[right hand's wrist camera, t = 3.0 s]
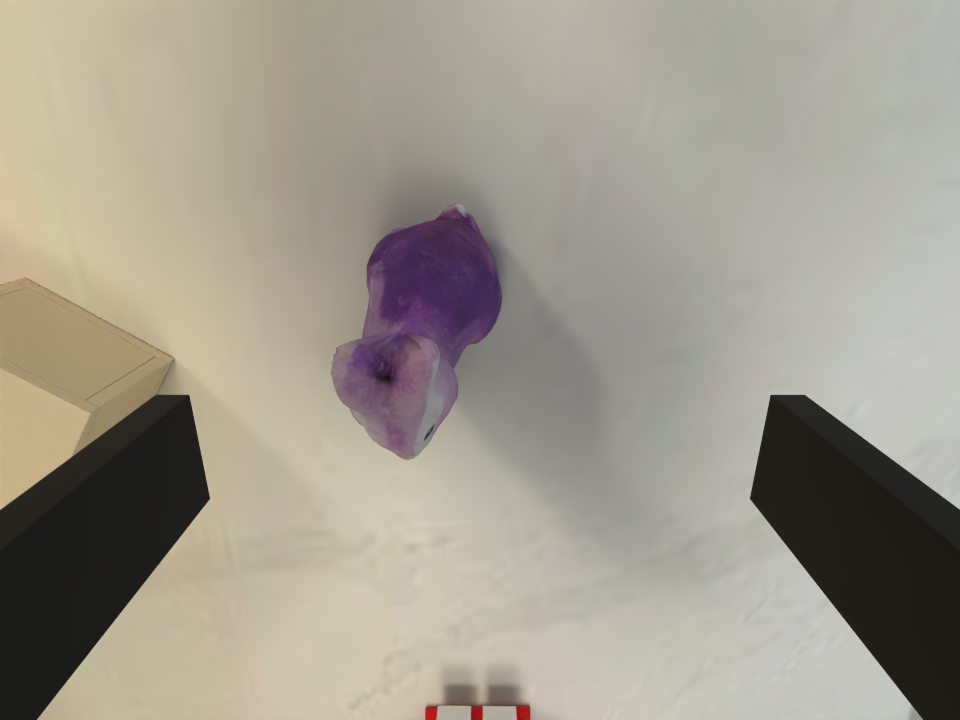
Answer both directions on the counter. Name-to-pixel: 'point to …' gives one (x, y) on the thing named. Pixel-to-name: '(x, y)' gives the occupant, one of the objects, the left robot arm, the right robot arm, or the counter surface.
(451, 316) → the figurine
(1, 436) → the cabinet
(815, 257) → the counter surface
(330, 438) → the counter surface
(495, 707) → the toy
